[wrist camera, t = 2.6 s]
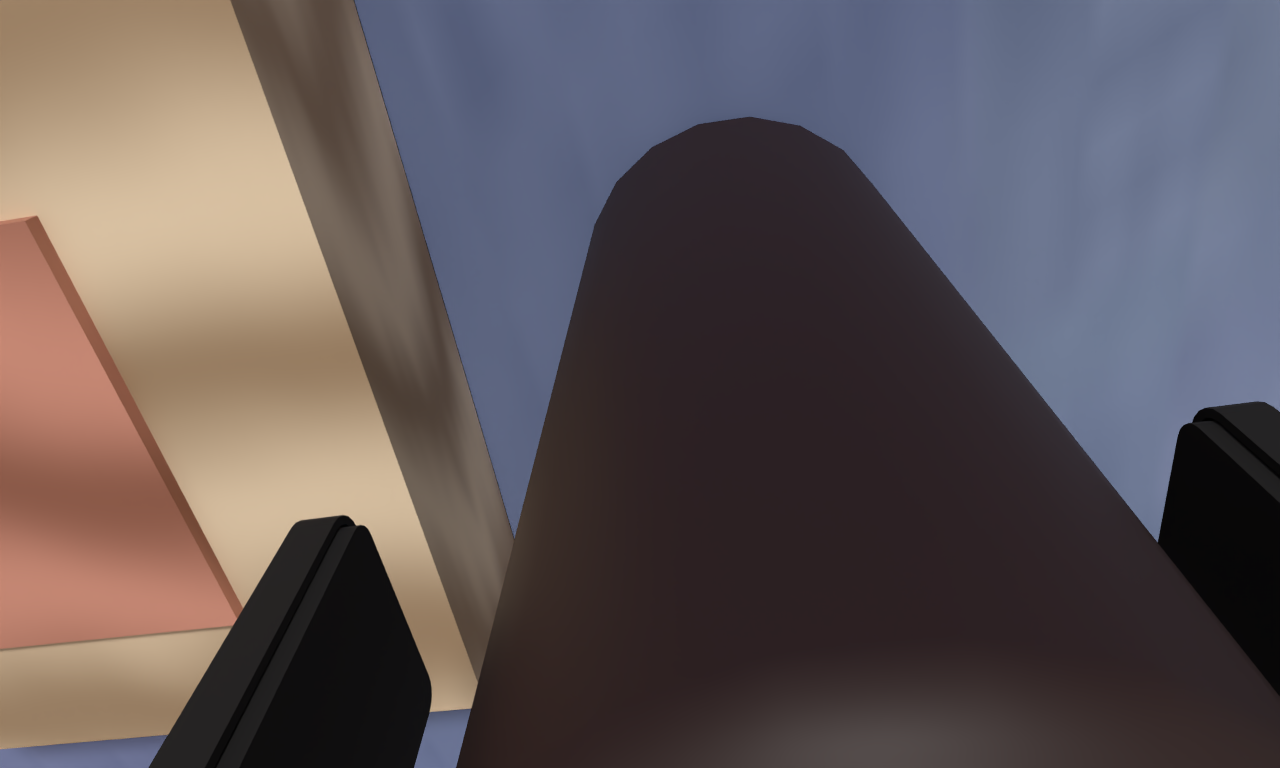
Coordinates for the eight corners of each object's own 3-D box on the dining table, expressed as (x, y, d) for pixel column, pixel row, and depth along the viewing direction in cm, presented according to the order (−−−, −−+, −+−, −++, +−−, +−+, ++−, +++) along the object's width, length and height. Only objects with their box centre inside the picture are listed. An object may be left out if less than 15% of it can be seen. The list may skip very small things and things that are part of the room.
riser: (520, 562, 23) (484, 717, 19) (-49, 622, 25) (-209, 776, 21) (332, -73, 16) (192, -73, 11) (-460, 79, 18) (-858, 132, 13)
